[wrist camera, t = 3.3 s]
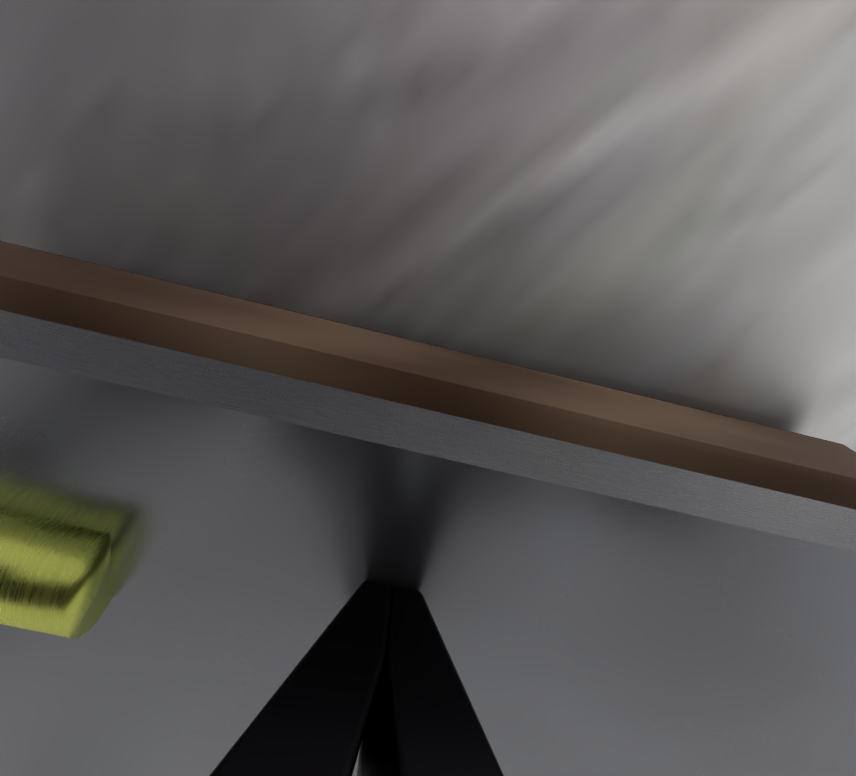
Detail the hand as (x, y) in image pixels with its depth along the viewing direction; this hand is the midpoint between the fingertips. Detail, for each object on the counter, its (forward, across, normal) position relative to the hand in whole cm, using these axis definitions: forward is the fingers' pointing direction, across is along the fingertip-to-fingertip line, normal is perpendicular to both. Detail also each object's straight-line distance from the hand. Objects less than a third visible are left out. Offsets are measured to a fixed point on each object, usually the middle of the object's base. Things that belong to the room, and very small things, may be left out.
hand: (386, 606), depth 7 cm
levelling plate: (+1, 0, +5) cm, 5 cm away
